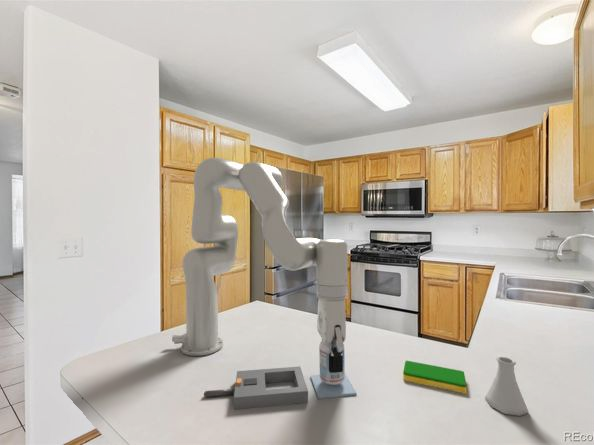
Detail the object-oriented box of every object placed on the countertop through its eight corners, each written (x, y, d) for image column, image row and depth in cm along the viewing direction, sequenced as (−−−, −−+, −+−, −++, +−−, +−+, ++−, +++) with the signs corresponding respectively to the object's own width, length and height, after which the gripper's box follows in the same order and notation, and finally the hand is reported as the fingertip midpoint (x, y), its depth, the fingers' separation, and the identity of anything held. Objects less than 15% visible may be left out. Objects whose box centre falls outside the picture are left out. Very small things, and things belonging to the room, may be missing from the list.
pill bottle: (346, 374, 72) (346, 329, 72) (342, 387, 67) (342, 339, 67) (322, 370, 74) (322, 326, 74) (316, 383, 69) (316, 335, 69)
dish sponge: (405, 368, 79) (405, 359, 79) (463, 380, 74) (463, 370, 73) (403, 381, 73) (403, 372, 73) (466, 395, 67) (466, 385, 67)
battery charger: (199, 412, 61) (199, 397, 61) (207, 383, 72) (207, 370, 72) (308, 402, 64) (308, 388, 64) (300, 376, 75) (300, 364, 75)
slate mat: (318, 398, 65) (318, 396, 65) (310, 377, 74) (310, 375, 74) (356, 394, 67) (356, 392, 67) (344, 374, 76) (344, 372, 76)
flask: (478, 396, 66) (478, 352, 66) (507, 395, 67) (507, 351, 67) (503, 418, 59) (503, 369, 59) (536, 416, 59) (536, 367, 59)
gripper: (309, 283, 78) (309, 350, 79) (325, 300, 61) (325, 385, 61) (336, 282, 80) (336, 348, 80) (359, 299, 62) (359, 382, 63)
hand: (331, 363), depth 71 cm, fingers closed on pill bottle, 6 cm apart
